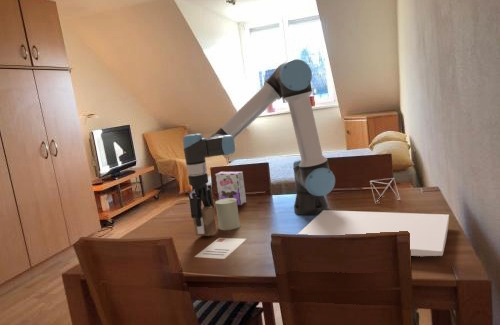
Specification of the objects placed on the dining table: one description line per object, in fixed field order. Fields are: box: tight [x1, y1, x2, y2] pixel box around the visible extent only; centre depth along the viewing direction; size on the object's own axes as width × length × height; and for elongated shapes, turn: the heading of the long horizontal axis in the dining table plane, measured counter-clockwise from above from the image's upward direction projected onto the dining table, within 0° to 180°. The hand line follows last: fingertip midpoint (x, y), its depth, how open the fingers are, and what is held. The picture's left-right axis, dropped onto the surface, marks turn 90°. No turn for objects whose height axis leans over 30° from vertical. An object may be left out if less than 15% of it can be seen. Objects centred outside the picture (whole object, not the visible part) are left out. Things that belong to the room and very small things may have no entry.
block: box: [192, 205, 217, 237], centre depth 154 cm, size 6×6×10 cm
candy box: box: [214, 171, 247, 206], centre depth 201 cm, size 14×6×16 cm, turn 58°
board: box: [297, 209, 450, 258], centre depth 132 cm, size 45×32×5 cm
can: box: [214, 198, 241, 231], centre depth 163 cm, size 9×9×12 cm
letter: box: [194, 237, 247, 260], centre depth 141 cm, size 12×18×1 cm, turn 156°
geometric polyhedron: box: [369, 177, 401, 204], centre depth 173 cm, size 12×11×9 cm
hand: (205, 230), depth 155 cm, fingers closed on block, 6 cm apart
